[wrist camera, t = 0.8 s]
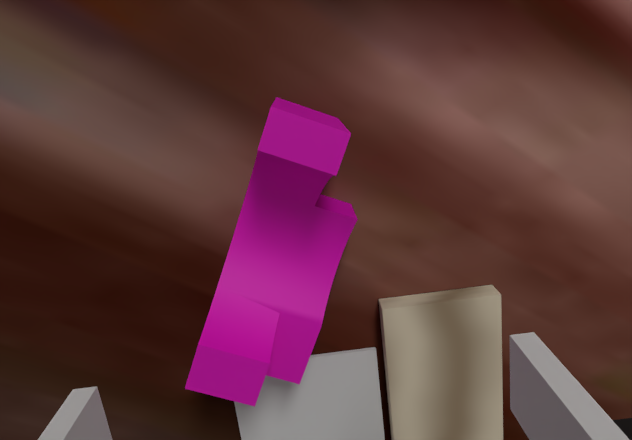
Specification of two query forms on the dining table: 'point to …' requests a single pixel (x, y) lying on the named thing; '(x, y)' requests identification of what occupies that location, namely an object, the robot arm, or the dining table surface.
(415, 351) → the board
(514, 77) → the dining table surface
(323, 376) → the mat
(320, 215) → the toy block
